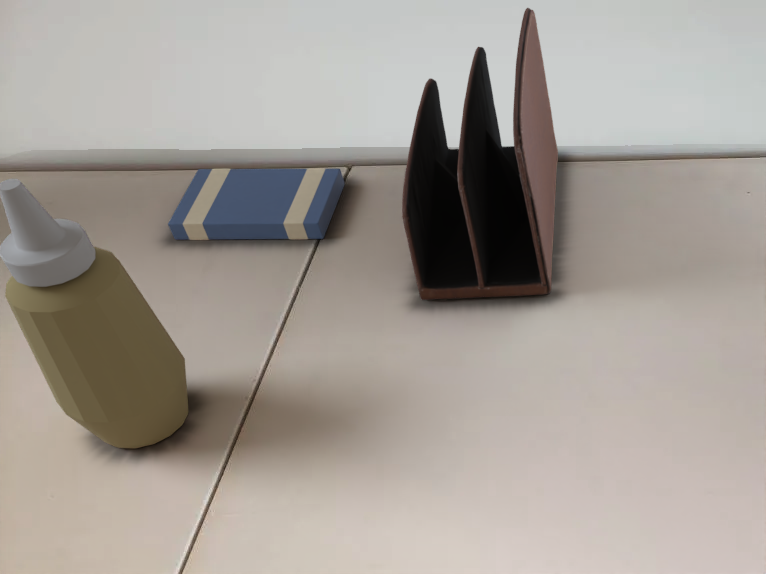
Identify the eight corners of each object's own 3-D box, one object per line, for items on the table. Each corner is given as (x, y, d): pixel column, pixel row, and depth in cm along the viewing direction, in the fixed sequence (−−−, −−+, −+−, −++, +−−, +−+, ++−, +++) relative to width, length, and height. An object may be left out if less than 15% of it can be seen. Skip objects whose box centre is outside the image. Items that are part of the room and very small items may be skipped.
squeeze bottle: (56, 451, 71) (-106, 215, 57) (126, 372, 76) (-7, 137, 62) (164, 472, 70) (26, 236, 56) (229, 390, 75) (116, 154, 61)
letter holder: (558, 156, 94) (537, -10, 83) (552, 297, 81) (526, 123, 71) (444, 161, 94) (407, -6, 83) (419, 303, 81) (372, 129, 70)
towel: (204, 184, 91) (198, 168, 90) (345, 184, 91) (340, 167, 90) (174, 240, 86) (167, 223, 85) (323, 239, 86) (318, 223, 85)
